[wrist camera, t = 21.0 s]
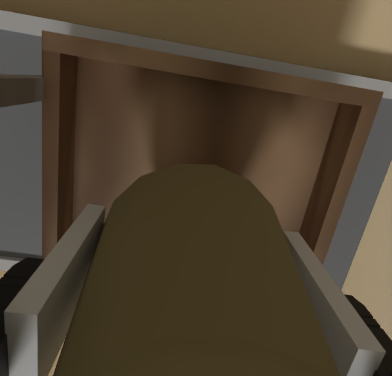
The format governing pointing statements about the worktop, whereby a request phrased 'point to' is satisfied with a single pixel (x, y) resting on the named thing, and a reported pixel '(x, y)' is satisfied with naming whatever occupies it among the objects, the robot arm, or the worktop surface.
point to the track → (32, 53)
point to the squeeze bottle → (194, 286)
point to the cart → (189, 130)
